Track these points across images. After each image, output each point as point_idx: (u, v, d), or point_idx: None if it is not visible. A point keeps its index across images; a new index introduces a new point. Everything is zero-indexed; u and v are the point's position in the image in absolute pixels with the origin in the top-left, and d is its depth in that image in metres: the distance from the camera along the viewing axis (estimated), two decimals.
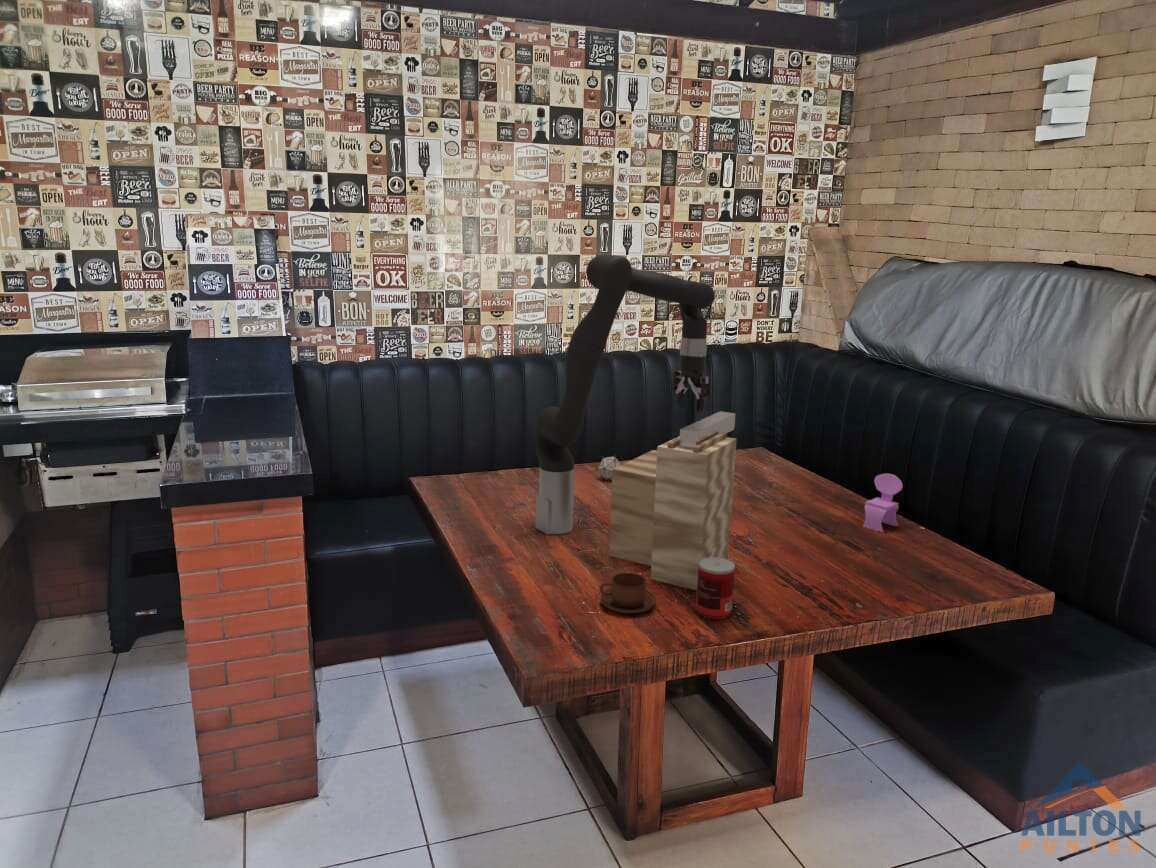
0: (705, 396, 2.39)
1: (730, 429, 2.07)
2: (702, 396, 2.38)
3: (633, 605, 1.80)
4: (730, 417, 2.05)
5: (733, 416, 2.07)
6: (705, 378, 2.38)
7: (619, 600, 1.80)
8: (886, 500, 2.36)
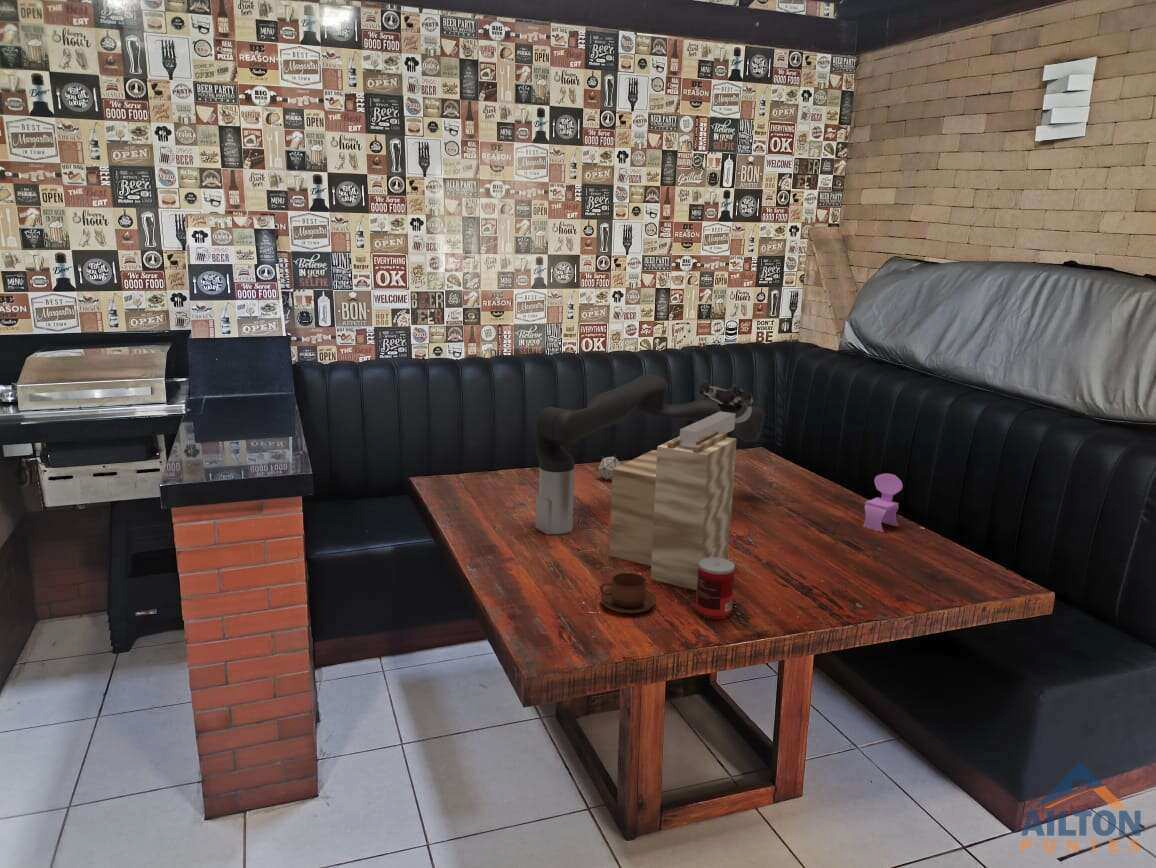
0: (699, 390, 2.33)
1: (730, 429, 2.07)
2: (699, 393, 2.32)
3: (633, 605, 1.80)
4: (730, 417, 2.05)
5: (733, 416, 2.07)
6: None
7: (619, 600, 1.80)
8: (886, 500, 2.36)
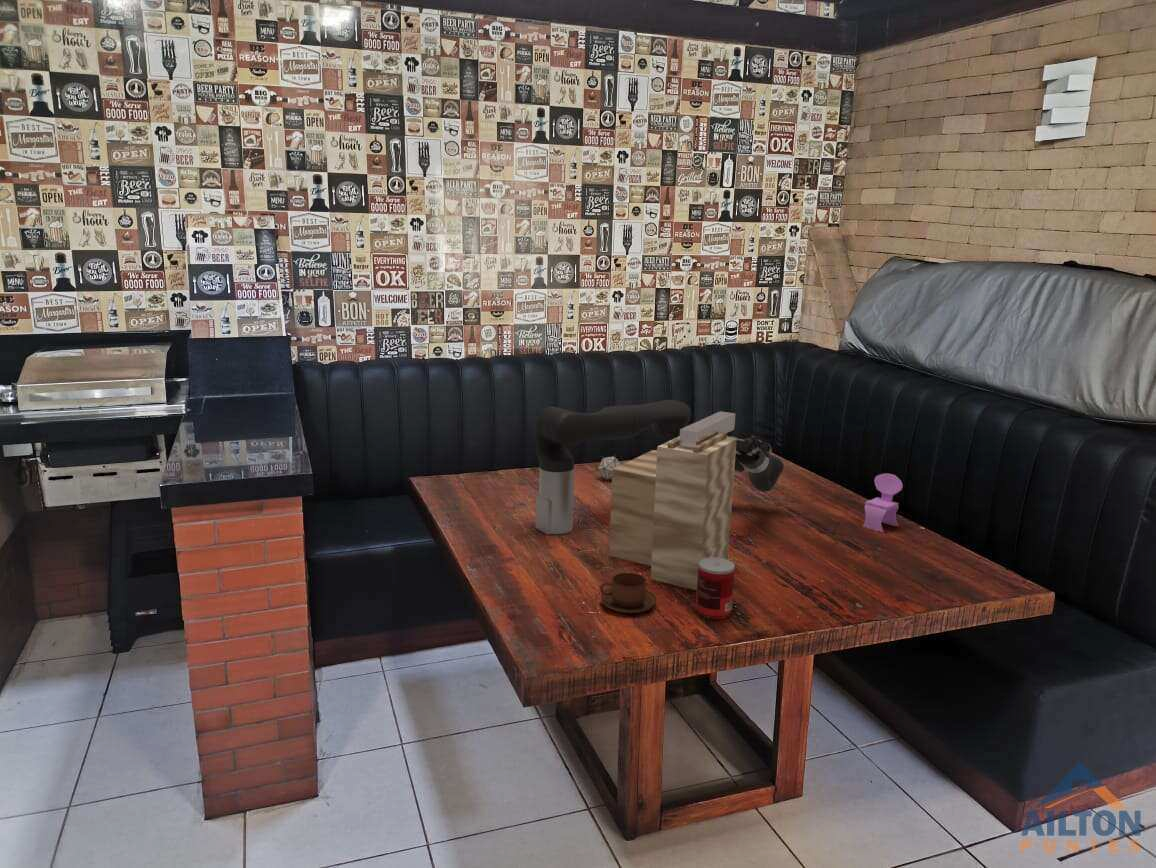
0: None
1: (730, 429, 2.07)
2: None
3: (633, 605, 1.80)
4: (730, 417, 2.05)
5: (733, 416, 2.07)
6: None
7: (619, 600, 1.80)
8: (886, 500, 2.36)
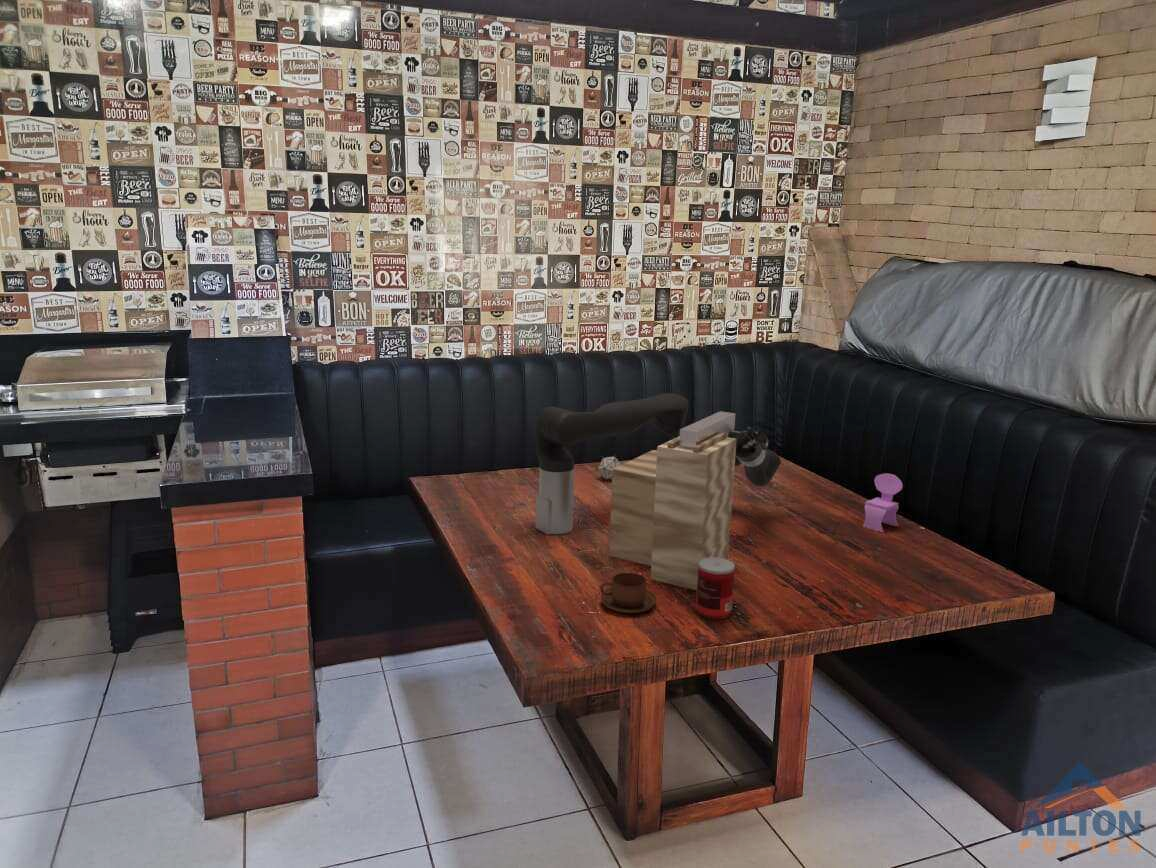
0: None
1: (730, 429, 2.07)
2: None
3: (633, 605, 1.80)
4: (730, 417, 2.05)
5: (733, 416, 2.07)
6: None
7: (619, 600, 1.80)
8: (886, 500, 2.36)
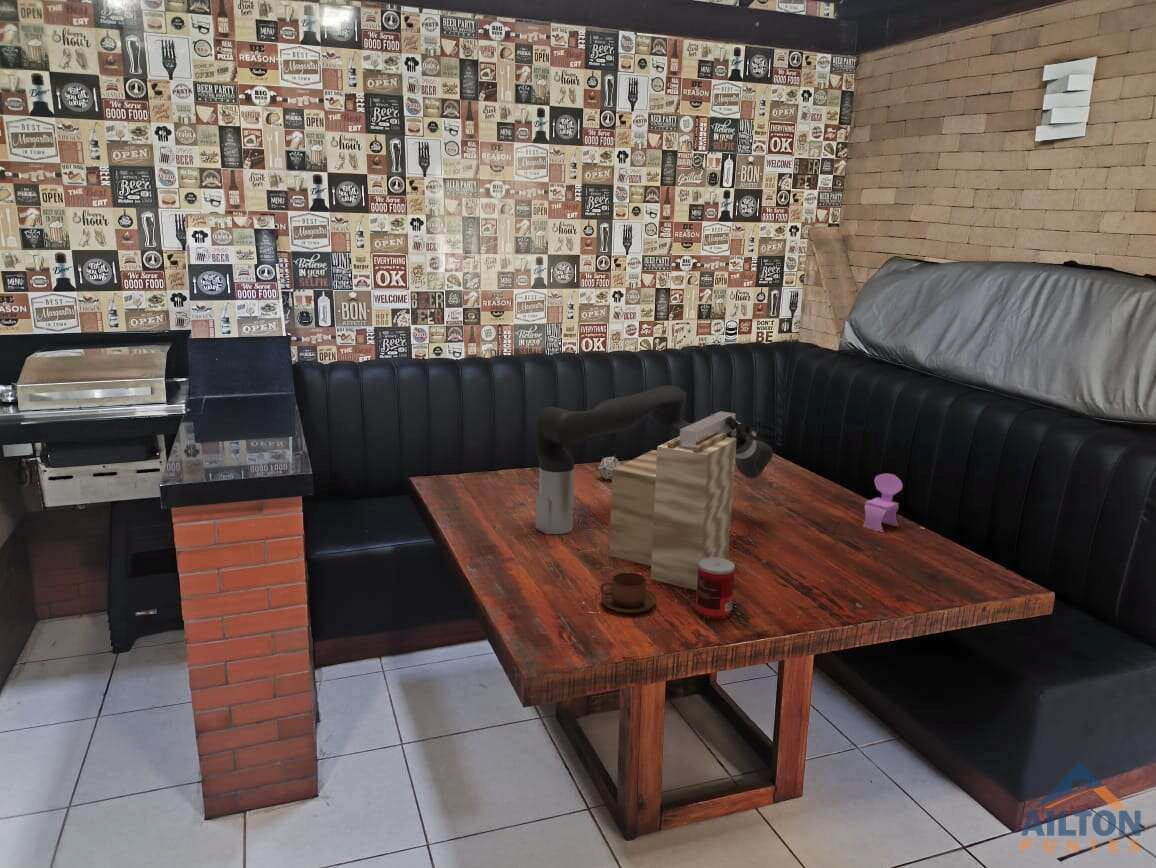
0: None
1: (730, 429, 2.07)
2: None
3: (634, 604, 1.81)
4: None
5: (733, 416, 2.07)
6: None
7: (619, 599, 1.81)
8: (886, 500, 2.36)
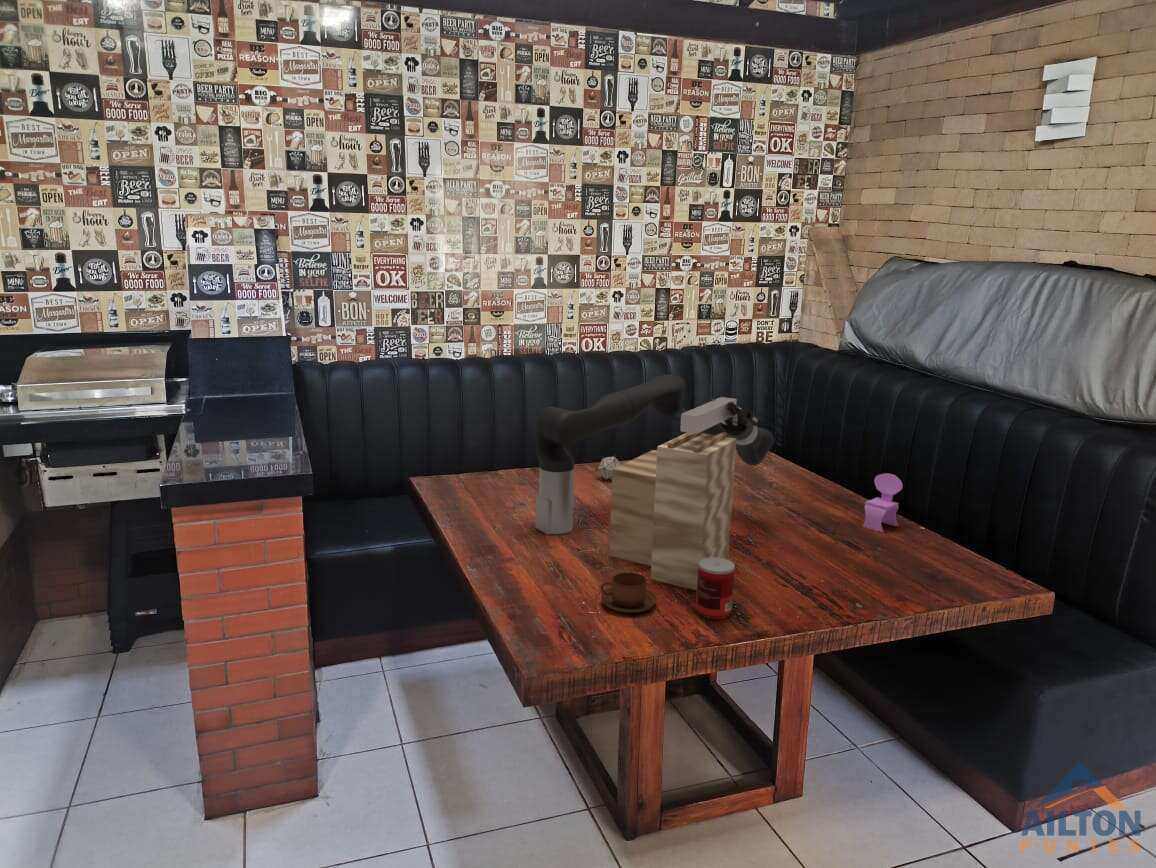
0: None
1: (731, 415, 2.06)
2: None
3: (634, 604, 1.81)
4: None
5: (734, 402, 2.06)
6: None
7: (619, 599, 1.81)
8: (886, 500, 2.36)
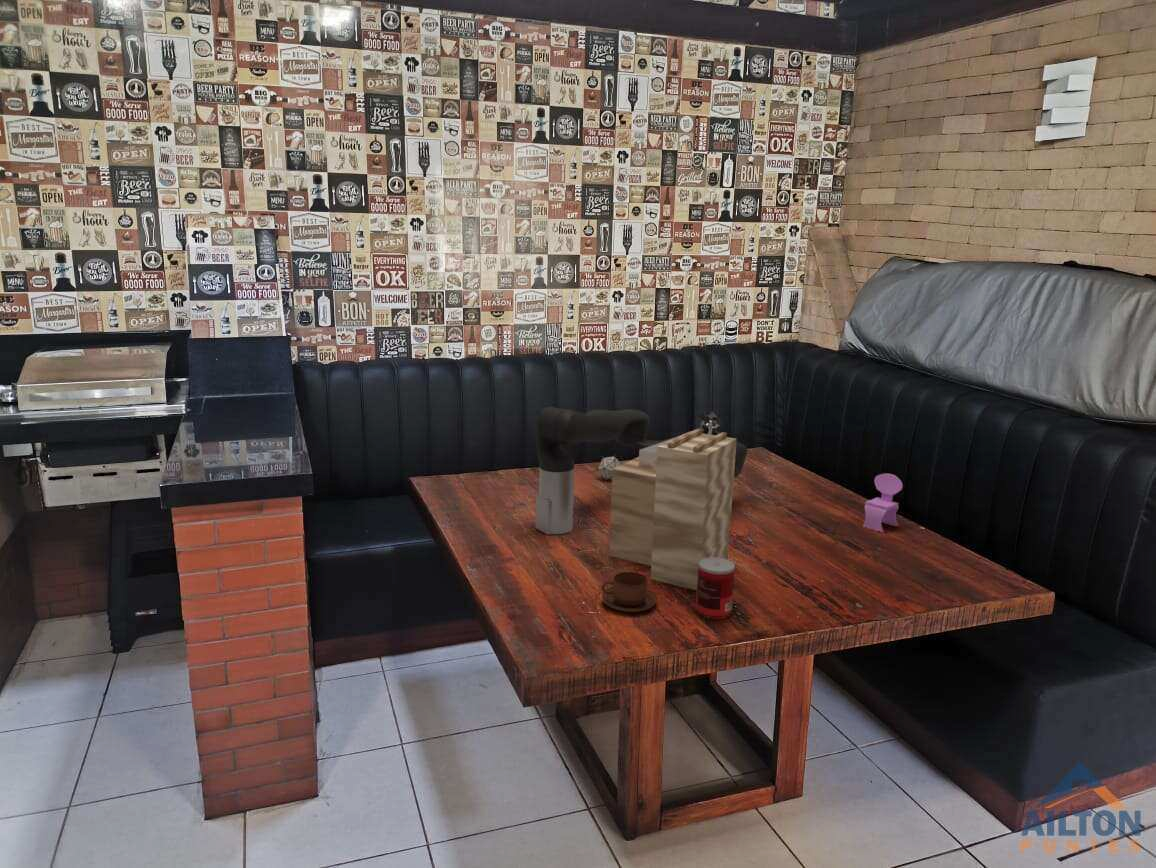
0: None
1: None
2: None
3: (635, 604, 1.81)
4: None
5: None
6: None
7: (620, 598, 1.81)
8: (886, 500, 2.36)
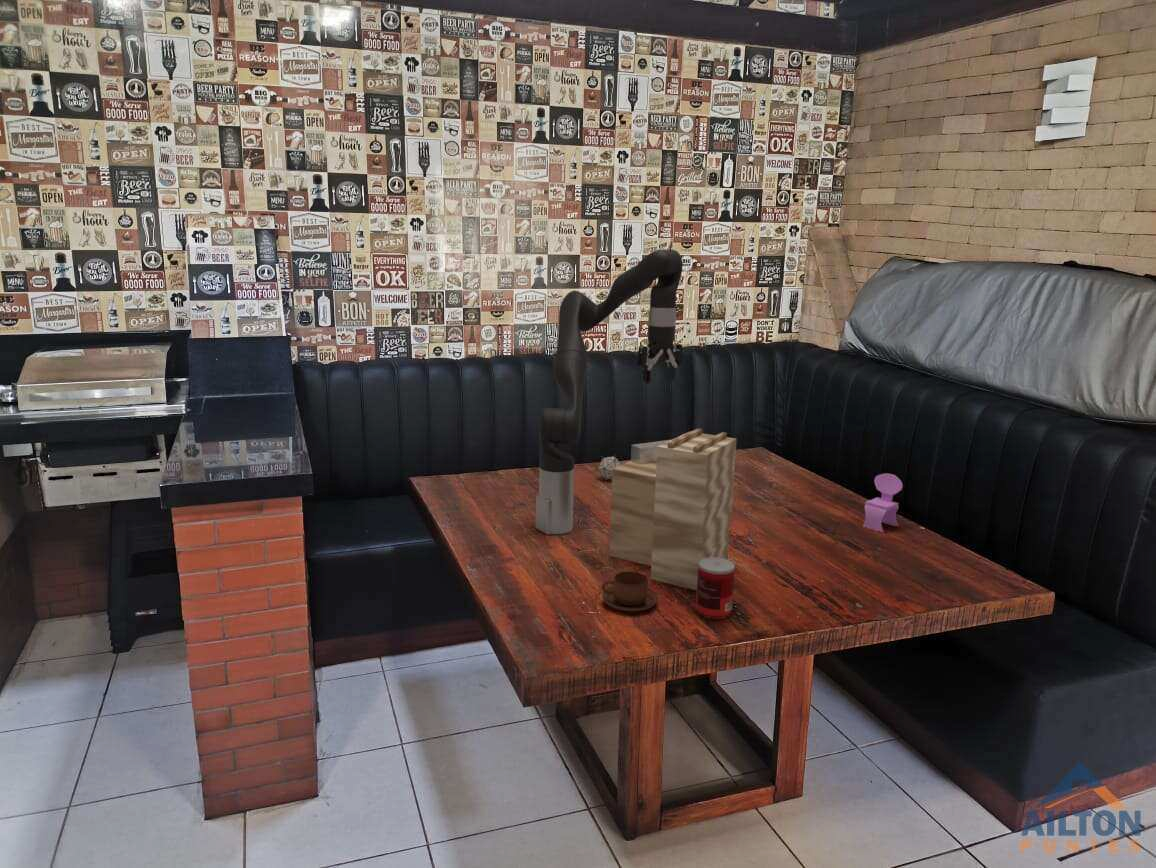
0: None
1: None
2: (681, 363, 2.37)
3: (635, 603, 1.81)
4: None
5: None
6: None
7: (621, 598, 1.81)
8: (886, 500, 2.36)
